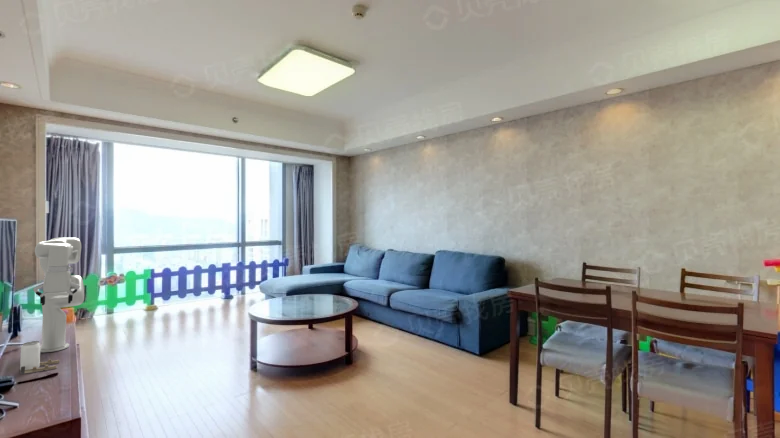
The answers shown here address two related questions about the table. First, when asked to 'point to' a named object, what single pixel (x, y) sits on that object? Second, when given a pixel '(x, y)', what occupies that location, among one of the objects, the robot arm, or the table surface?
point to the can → (30, 355)
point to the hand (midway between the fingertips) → (56, 303)
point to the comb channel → (40, 368)
